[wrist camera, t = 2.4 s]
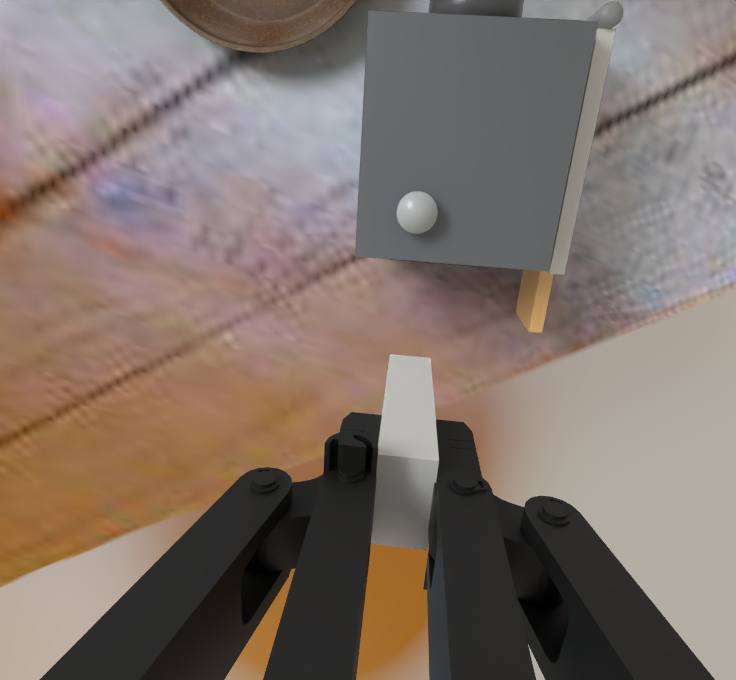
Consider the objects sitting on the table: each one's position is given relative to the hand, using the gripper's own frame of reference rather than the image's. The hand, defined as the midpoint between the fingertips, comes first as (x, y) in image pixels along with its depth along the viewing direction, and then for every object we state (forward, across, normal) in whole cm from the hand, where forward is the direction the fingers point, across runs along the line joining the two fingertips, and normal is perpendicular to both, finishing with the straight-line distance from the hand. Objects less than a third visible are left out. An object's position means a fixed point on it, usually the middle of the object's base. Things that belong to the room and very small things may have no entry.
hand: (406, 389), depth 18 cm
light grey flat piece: (+17, +8, +7) cm, 20 cm away
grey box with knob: (+17, +2, +9) cm, 19 cm away
